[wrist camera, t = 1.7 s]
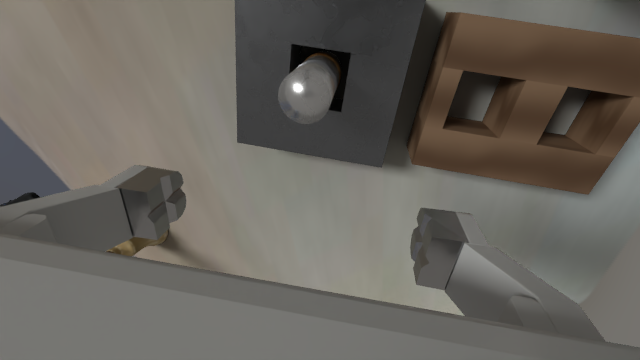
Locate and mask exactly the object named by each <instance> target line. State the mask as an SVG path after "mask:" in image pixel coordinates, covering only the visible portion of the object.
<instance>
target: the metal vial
mask: <svg viewBox="0 0 640 360" xmlns="http://www.w3.org/2000/svg"><path fill="white" fill-rule="evenodd" d="M341 75H342V65H341V62H340V60H339V59H338V57H337V56H336V55H335V54H333V53H332V52H329V51H318V52H316V53H314V54H312V55H310V56H309V57H308V58H306V59H305V60H304V61H303V63H302V64H301V65H300V66H298V67H297V68H296V69H295V70H294V71H292V72H291V73H290V74H289V75H288V76H286V77H285V78H284V80H283V81H282V83H281V85H280V87H279V91H278V100H279V104H280V107H281V109H282V111H283V112H284V113H285V115H286V116H287V117H289V118H290V119H291V120H293V121H295V122H297V123H301V124H311V123H315V122H317V121H319V120H320V119H322V118H323V117H324V116H325V114H326V113H327V111H328V109H329V107H330V104H331V102H332V99H333V96H334V94H335V91H336V89H337V88H338V86H339V83H340V81H341Z"/></svg>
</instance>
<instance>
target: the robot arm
mask: <svg viewBox="0 0 640 360" xmlns="http://www.w3.org/2000/svg"><path fill="white" fill-rule="evenodd" d="M182 185H183V178H182V175H181V174H180V173H179V172H178V171H172V170H166V169H160V168H154V167H149V166H141V165H134V166H132V167H130V168H128V169H127V170H125V171H123V172H122V173H120V174H118V175H117V176H115V177H113V178H111V179H110V180H108V181H106V182H105V183H103V184H101V185H92V186H88V187H84V188H79V189H75V190H71V191H67V192H62V193H58V194H54V195H49V196H45V197H41V198H37V199H32V200H28V201H24V202H19V203H15V204H11V205H7V206H2V207H0V360H640V348H639V347H634V346H628V345H623V344H617V343H611V342H606V341H605V340H604V338H603V337H602V336H601V334H600V333H599V332H598V330H597V329H596V327H595V326H594V325H593V323H592V322H591V321H590V319H589V318H588V317H587V315H586V314H585V313H584V311H583V310H582V308H581V307H580V306H579V305H578V304H577V303H575V302H574V301H572V300H571V299H569V298H568V297H566V296H565V295H564V294H562V293H561V292H559V291H558V290H556V289H555V288H553V287H552V286H550V285H549V284H548V283H546V282H545V281H543V280H542V279H540V278H539V277H537V276H536V275H535V274H533V273H532V272H530V271H529V270H527V269H526V268H524V267H523V266H521V265H520V264H519V263H517V262H516V261H514V260H513V259H511V258H510V257H508V256H507V255H506V254H504V253H503V252H501V251H500V250H498V249H497V248H495V247H491V246H489V244H488V243H487V241H486V239H485V237H484V235H483V233H482V232H481V230H480V228H479V226H478V224H477V222H476V221H475V219H474V217H473V215H471V214H470V213H461V212H453V211H445V210H437V209H429V208H421V209H420V211H419V213H418V216H417V222H418V227H417V228H415V229H414V230H413V234H412V238H411V246H410V250H411V258H412V259H413V260H414V261H415V264H414V267H413V270H414V275H415V281H416V285H421V286H426V287H431V288H436V289H441V290H445V292H446V294H447V295H448V296H449V297H450V298H451V300H452V301H453V302H454V303H455V304H456V306H457V307H458V308H459V309H460V310H461V312H462V313H463V314H464V315H465V316H461V315H455V314H450V313H444V312H439V311H433V310H428V309H422V308H416V307H411V306H405V305H400V304H394V303H388V302H383V301H377V300H372V299H366V298H360V297H355V296H349V295H344V294H338V293H333V292H327V291H321V290H316V289H310V288H305V287H299V286H293V285H288V284H282V283H277V282H271V281H265V280H260V279H254V278H249V277H243V276H238V275H232V274H226V273H221V272H215V271H210V270H204V269H199V268H193V267H187V266H182V265H176V264H171V263H165V262H160V261H154V260H148V259H143V258H137V257H132V256H126V255H121V254H115V253H109V252H105V251H107V250H109V249H111V248H113V247H115V246H117V245H119V244H121V243H123V242H125V241H127V240H129V239H131V238H133V237H139V238H146V239H153V240H158V239H159V238H160V237H161V236H162V235H163V234H164V233H165V232H166V231H167V230H168V229H169V228H170V223H171V222H173V221H176V220H178V219H179V218H180V217H181V216H182V215H183V212H184V210H185V208H186V196H185V193H184V192H183V191H182V190H181V189H180V188H181V186H182Z"/></svg>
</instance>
